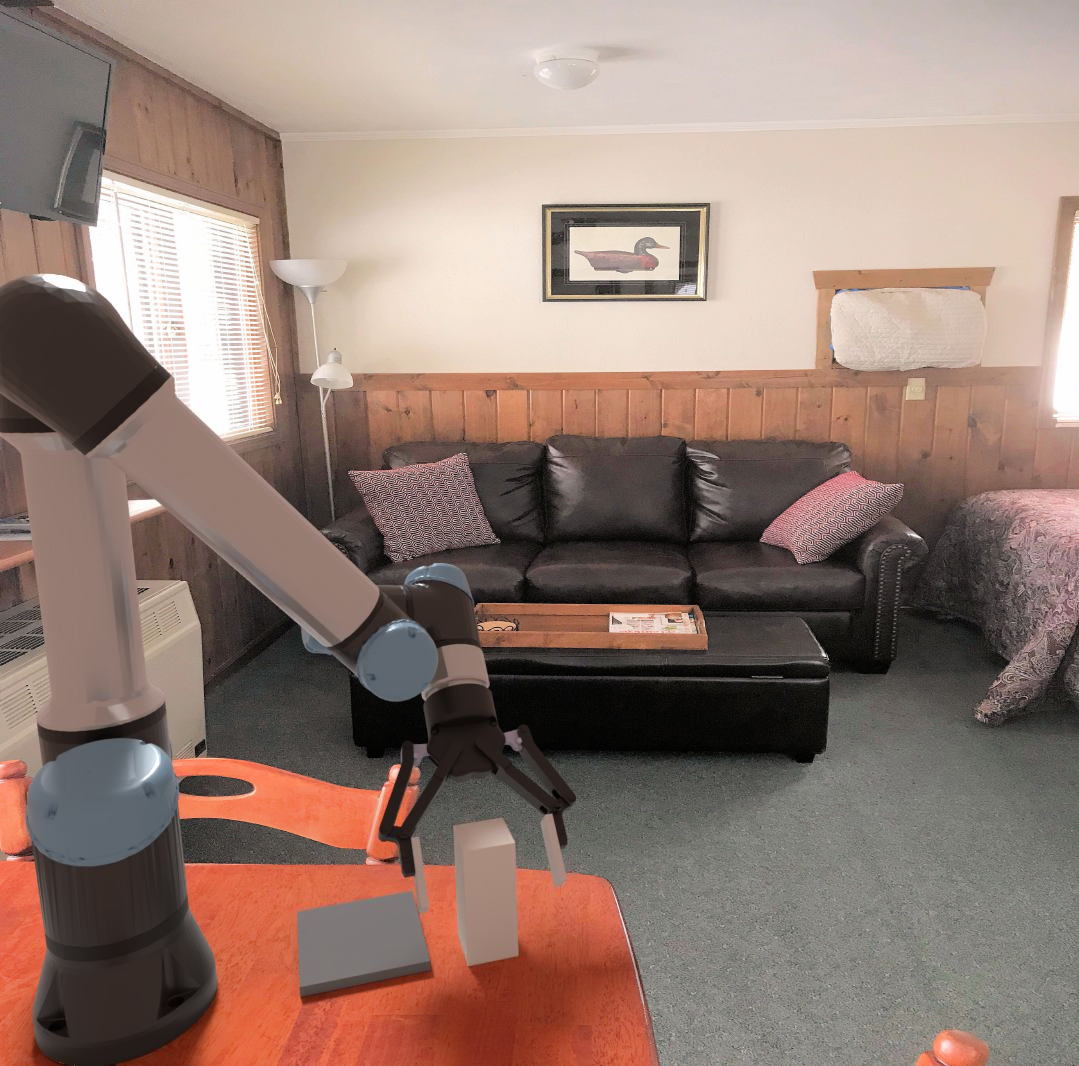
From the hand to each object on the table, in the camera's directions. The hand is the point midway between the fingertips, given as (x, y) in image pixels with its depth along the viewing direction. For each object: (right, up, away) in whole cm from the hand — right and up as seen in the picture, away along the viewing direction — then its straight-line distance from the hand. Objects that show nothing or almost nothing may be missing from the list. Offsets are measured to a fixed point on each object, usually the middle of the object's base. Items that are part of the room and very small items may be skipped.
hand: (493, 897), depth 86 cm
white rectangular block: (-1, -6, +2) cm, 6 cm away
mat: (-13, -6, +3) cm, 15 cm away
